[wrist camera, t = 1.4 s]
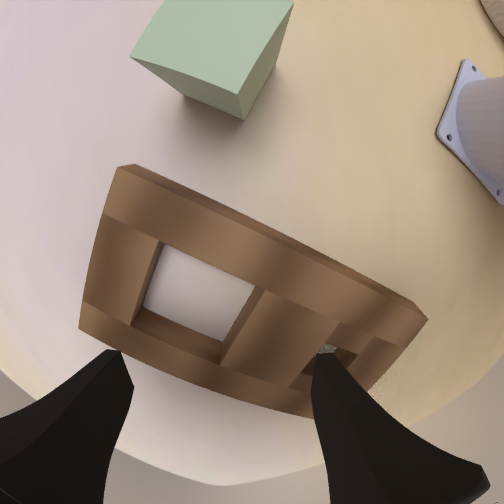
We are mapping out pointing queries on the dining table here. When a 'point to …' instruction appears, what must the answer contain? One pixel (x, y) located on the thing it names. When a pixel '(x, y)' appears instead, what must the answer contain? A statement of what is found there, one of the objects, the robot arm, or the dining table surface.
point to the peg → (215, 48)
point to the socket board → (254, 311)
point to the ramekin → (495, 13)
